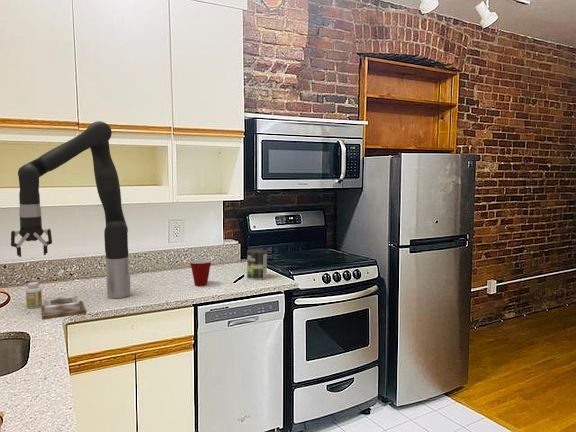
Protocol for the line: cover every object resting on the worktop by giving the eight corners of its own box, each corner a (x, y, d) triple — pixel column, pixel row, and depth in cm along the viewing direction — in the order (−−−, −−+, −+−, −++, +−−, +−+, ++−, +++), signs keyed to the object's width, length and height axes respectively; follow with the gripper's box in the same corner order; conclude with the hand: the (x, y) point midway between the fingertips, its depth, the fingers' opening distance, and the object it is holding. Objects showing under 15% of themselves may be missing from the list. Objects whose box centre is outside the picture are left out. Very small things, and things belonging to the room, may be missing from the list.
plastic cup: (210, 281, 226) (210, 257, 224) (213, 286, 215) (213, 261, 214) (188, 282, 222) (188, 258, 221) (190, 288, 212) (190, 263, 211)
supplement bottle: (38, 303, 187) (37, 280, 186) (44, 306, 184) (43, 282, 183) (24, 306, 183) (23, 283, 182) (30, 309, 179) (28, 285, 178)
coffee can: (255, 281, 226) (255, 253, 225) (242, 277, 234) (242, 250, 233) (271, 277, 233) (271, 251, 232) (258, 274, 241) (258, 248, 239)
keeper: (82, 303, 188) (82, 294, 187) (86, 313, 175) (85, 304, 175) (41, 309, 180) (40, 299, 180) (42, 319, 168) (41, 309, 168)
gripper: (50, 213, 186) (52, 252, 188) (9, 215, 179) (12, 255, 181) (51, 215, 180) (53, 255, 181) (9, 217, 173) (11, 259, 174)
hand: (32, 255), depth 181 cm, fingers open, 8 cm apart
